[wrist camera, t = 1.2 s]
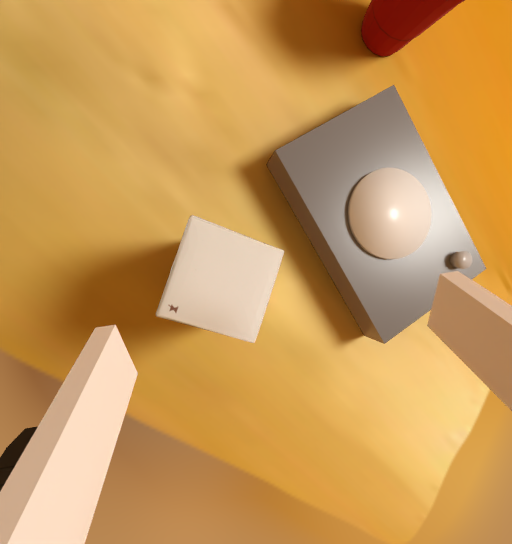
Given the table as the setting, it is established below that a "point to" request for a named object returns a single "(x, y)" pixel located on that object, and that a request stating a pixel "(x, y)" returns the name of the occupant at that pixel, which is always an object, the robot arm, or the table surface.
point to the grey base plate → (376, 213)
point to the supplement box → (220, 281)
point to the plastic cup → (400, 22)
